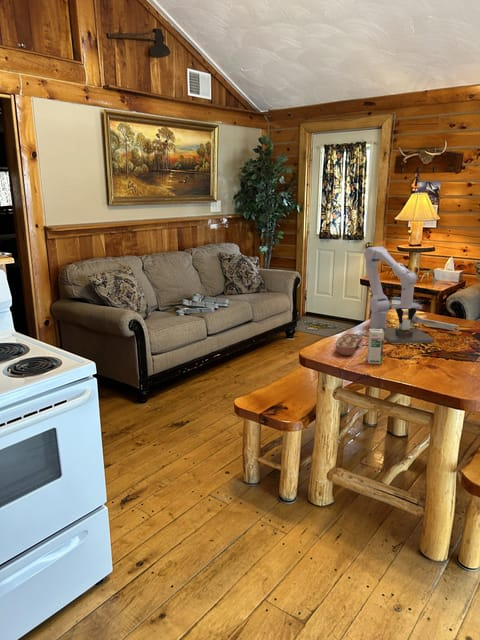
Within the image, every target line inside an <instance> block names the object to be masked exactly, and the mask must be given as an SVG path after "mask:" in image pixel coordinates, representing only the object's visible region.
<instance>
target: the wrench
mask: <svg viewBox="0 0 480 640" xmlns="http://www.w3.org/2000/svg"><path fill="white" fill-rule="evenodd" d="M403 316H408V310H406V311H404V312H403ZM418 324H420V325H421V324H422V325H425V326H426V325H427V326H431V327H434V328H439V329H443V330H449V331H452V330H453V331H454V332H459V331H460V326H459V325H457V324H452V323H449V322H448V323H447V322H442V321H436V320H432V319H427V318H422V317H420V316H418V315H416V313H415V314H414V316H413V318H412V320H411V323H410V327H415V325H418ZM455 327H457V329H455Z"/></svg>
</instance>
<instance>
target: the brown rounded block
mask: <svg viewBox="0 0 480 640" xmlns="http://www.w3.org/2000/svg"><path fill="white" fill-rule="evenodd" d="M362 341H363V336H362V335H361V334H357V333H345V334H343V335H341V336H340V337H339V338H337V340H336V342H335V348H336V351H337V352H338V353H339V354H340V355H342V356H351V355H352V354H353V353H354V352H355V350H356V348H357V347H358V346H359V345H360V344H362Z"/></svg>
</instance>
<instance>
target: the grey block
mask: <svg viewBox="0 0 480 640" xmlns="http://www.w3.org/2000/svg"><path fill="white" fill-rule="evenodd" d="M410 327H411V325H410V319H409V318H408V317H402V324H400V323H399V322H398V328H399V329H401V330H410Z"/></svg>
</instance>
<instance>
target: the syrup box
mask: <svg viewBox="0 0 480 640" xmlns="http://www.w3.org/2000/svg"><path fill="white" fill-rule="evenodd" d="M384 341H385V339H384V331H383V329H371V328H369V329H368V344H367V357H366V360H367V362H368V364H370V365H371V364H372V365H373V364H375V365H382V364H383V358H384V357H383V355H384V354H383V353H384Z"/></svg>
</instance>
